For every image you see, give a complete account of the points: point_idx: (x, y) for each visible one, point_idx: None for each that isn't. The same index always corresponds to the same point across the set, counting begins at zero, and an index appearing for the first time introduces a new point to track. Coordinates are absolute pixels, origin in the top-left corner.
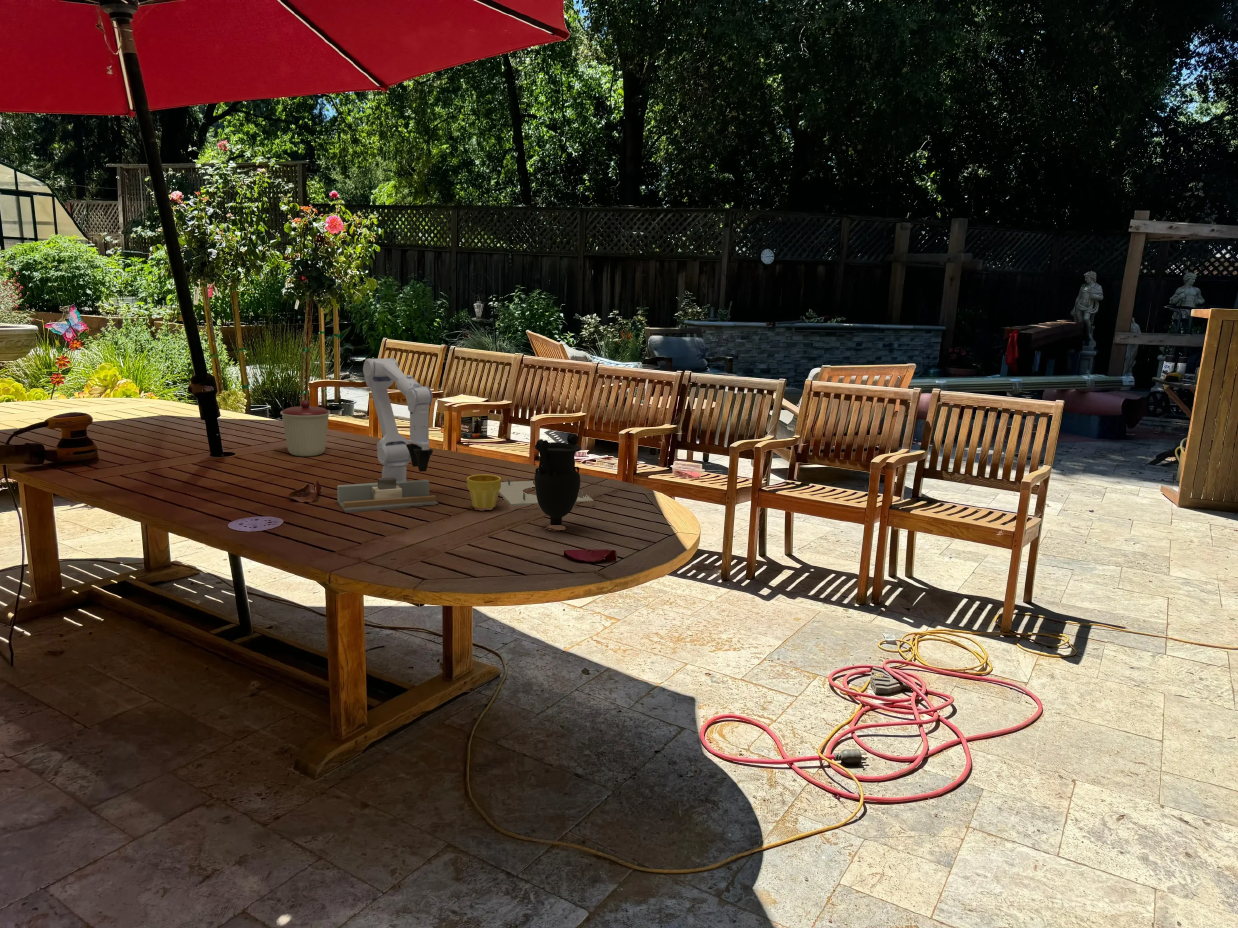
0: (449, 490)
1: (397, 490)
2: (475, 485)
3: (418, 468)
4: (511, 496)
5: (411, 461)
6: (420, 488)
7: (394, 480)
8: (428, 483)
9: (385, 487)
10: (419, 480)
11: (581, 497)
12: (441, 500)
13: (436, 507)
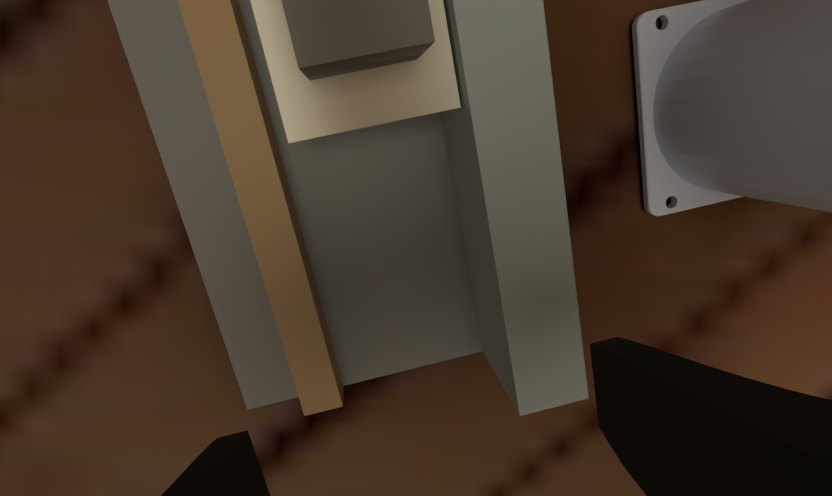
0: None
1: (275, 93)
2: None
3: (228, 450)
4: None
5: (673, 354)
6: (487, 313)
7: (294, 44)
8: (511, 397)
9: None
10: (565, 331)
11: None
12: (397, 419)
13: (189, 386)
